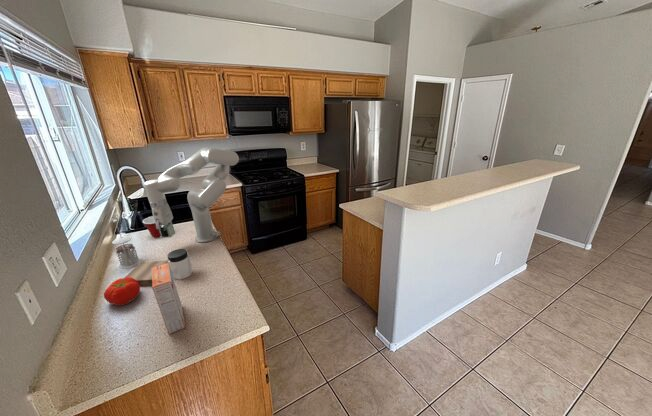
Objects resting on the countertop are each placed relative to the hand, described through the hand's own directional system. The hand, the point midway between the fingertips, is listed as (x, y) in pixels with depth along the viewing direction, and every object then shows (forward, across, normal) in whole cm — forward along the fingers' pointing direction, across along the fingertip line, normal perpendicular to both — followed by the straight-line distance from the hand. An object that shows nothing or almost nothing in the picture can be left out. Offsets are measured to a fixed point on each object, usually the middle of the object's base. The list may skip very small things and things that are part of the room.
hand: (168, 233), depth 143 cm
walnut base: (+11, -23, +1) cm, 25 cm away
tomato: (+11, -40, +2) cm, 41 cm away
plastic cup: (+12, +21, +20) cm, 31 cm away
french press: (+11, -11, +17) cm, 23 cm away
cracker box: (+11, -54, -25) cm, 60 cm away
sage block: (+1, 0, 0) cm, 1 cm away
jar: (+11, -24, -15) cm, 30 cm away
